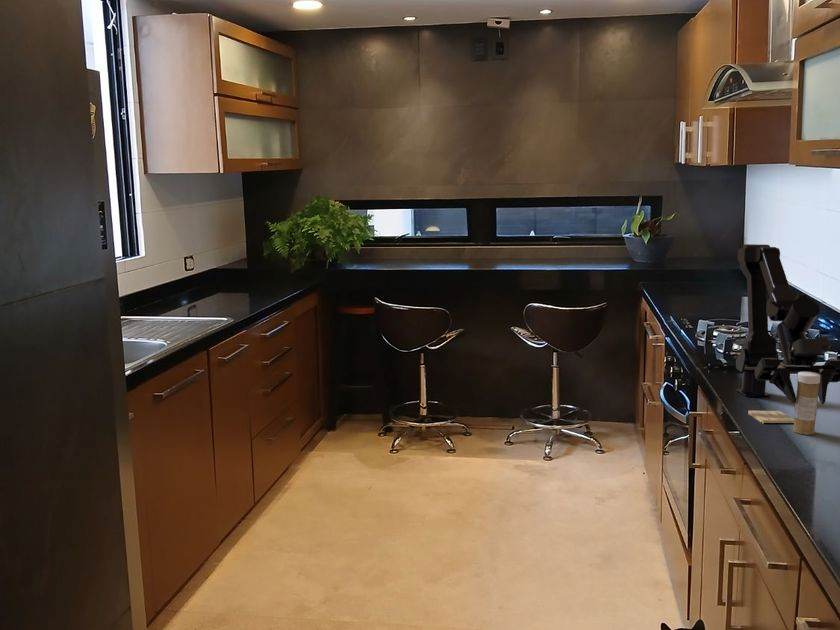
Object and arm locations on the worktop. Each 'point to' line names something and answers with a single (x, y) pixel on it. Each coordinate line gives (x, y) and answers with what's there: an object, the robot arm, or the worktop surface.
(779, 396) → the worktop surface
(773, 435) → the worktop surface
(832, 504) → the worktop surface
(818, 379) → the sprinkles bottle
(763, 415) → the trivet
